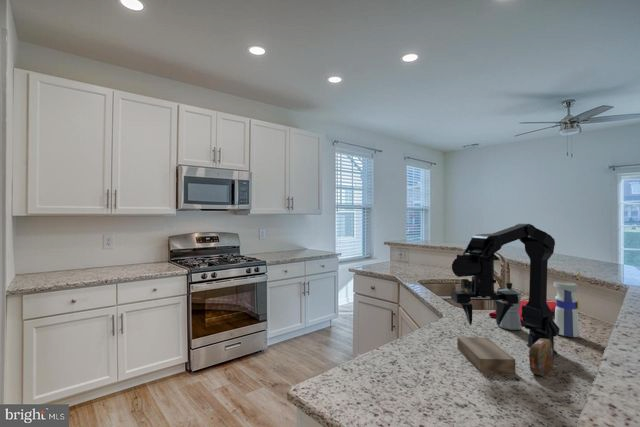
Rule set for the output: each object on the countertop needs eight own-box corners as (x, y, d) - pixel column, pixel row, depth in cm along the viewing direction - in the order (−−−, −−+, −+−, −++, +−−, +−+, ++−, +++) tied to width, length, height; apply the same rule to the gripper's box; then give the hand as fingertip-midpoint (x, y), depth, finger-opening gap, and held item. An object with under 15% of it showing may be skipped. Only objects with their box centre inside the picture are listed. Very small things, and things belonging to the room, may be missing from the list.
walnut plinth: (487, 349, 111) (487, 337, 111) (515, 373, 94) (515, 359, 94) (457, 348, 111) (457, 337, 111) (480, 372, 94) (480, 358, 94)
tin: (540, 380, 90) (539, 350, 90) (527, 376, 92) (526, 346, 92) (555, 364, 100) (555, 336, 100) (543, 361, 102) (543, 334, 102)
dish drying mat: (487, 316, 148) (487, 308, 148) (529, 303, 172) (529, 296, 172) (525, 326, 135) (525, 317, 135) (564, 310, 159) (564, 302, 159)
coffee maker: (529, 332, 127) (529, 286, 127) (507, 332, 127) (506, 286, 127) (508, 320, 142) (508, 278, 142) (488, 320, 142) (488, 278, 142)
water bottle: (577, 331, 128) (576, 267, 128) (583, 338, 120) (582, 271, 121) (551, 328, 132) (551, 266, 132) (555, 334, 124) (555, 269, 124)
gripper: (500, 270, 110) (500, 316, 110) (444, 270, 111) (445, 316, 111) (519, 276, 99) (519, 328, 99) (457, 276, 100) (457, 327, 100)
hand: (484, 324), depth 103 cm, fingers open, 8 cm apart
